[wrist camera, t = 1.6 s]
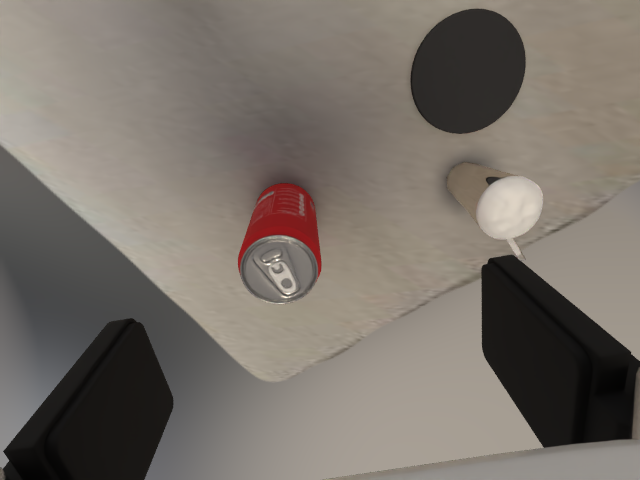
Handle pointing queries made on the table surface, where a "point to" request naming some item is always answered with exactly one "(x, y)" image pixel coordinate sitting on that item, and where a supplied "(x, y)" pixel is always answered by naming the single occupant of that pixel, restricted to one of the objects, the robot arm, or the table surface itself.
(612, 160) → the table surface
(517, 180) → the milkshake
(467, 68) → the coaster
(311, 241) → the beverage can
